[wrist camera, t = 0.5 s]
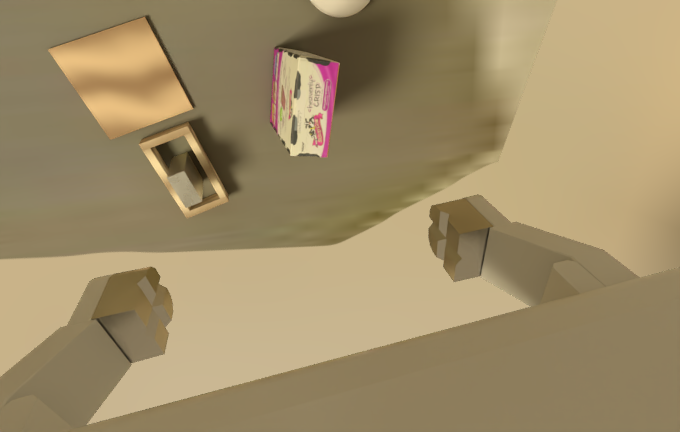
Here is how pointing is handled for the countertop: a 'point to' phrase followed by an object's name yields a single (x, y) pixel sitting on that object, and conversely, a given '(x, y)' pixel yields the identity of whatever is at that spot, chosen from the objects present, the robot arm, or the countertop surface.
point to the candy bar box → (303, 101)
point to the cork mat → (123, 77)
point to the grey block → (185, 179)
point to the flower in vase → (340, 7)
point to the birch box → (187, 131)
